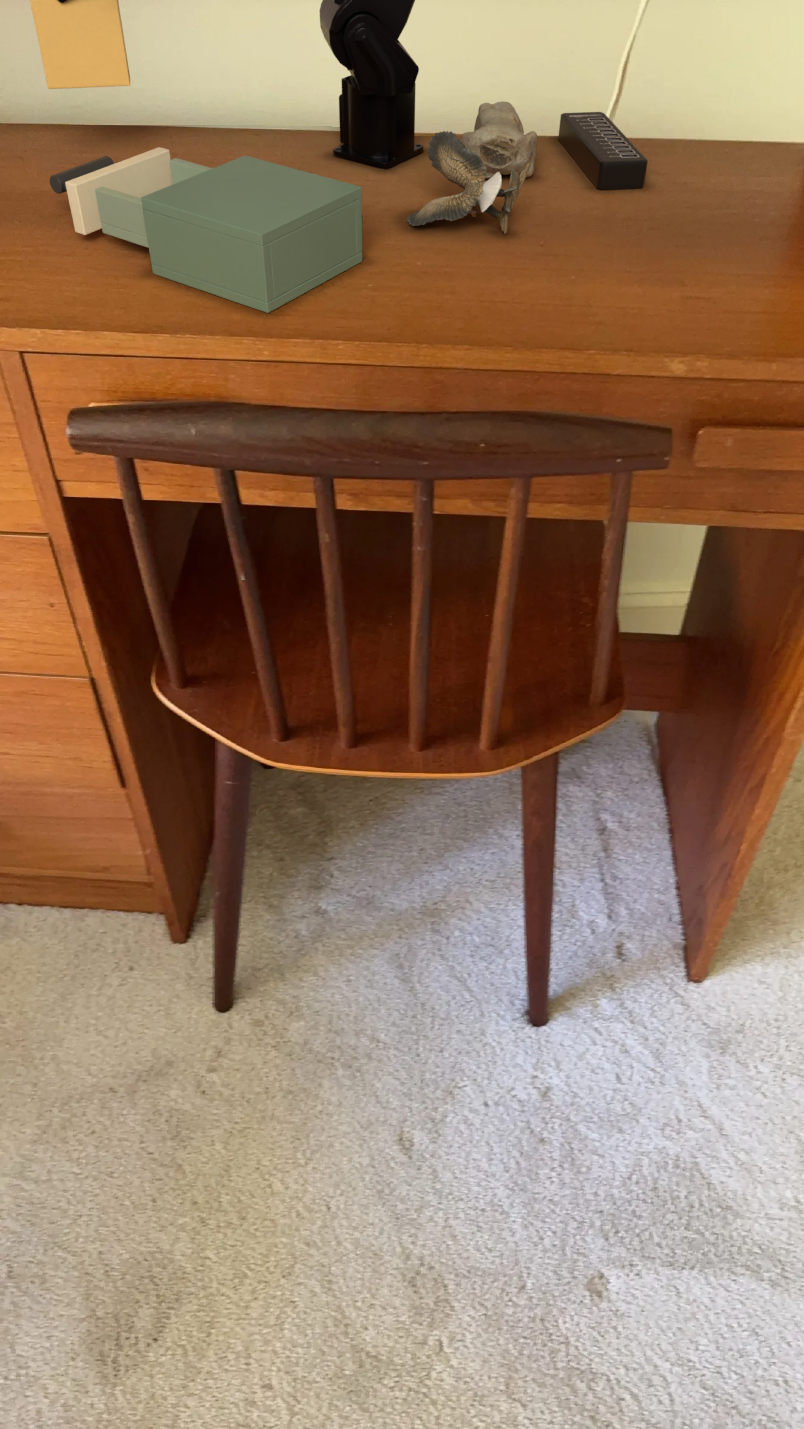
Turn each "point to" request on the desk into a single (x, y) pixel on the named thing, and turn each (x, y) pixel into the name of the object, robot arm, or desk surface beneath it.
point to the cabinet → (254, 231)
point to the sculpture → (501, 140)
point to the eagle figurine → (466, 184)
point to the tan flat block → (81, 43)
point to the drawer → (119, 191)
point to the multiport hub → (602, 151)
